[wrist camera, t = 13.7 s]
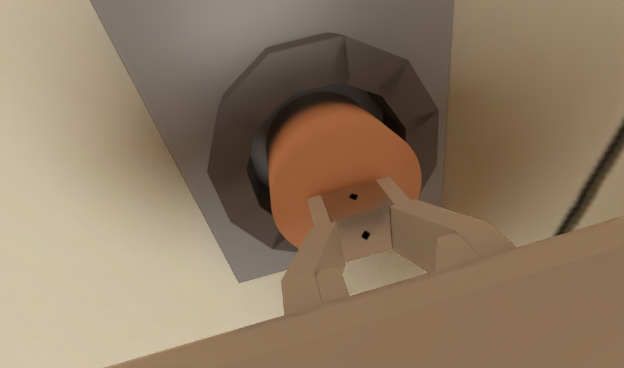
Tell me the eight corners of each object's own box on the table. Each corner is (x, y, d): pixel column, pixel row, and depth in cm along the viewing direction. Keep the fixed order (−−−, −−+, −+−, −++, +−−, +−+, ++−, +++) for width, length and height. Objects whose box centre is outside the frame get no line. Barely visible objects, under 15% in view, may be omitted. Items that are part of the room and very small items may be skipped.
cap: (369, 79, 13) (424, 107, 9) (376, 179, 16) (419, 237, 12) (252, 106, 13) (250, 148, 9) (280, 203, 16) (290, 271, 11)
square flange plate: (443, -84, 11) (511, -121, 8) (432, 217, 20) (464, 251, 17) (99, -5, 11) (40, -14, 8) (239, 271, 19) (237, 317, 16)
